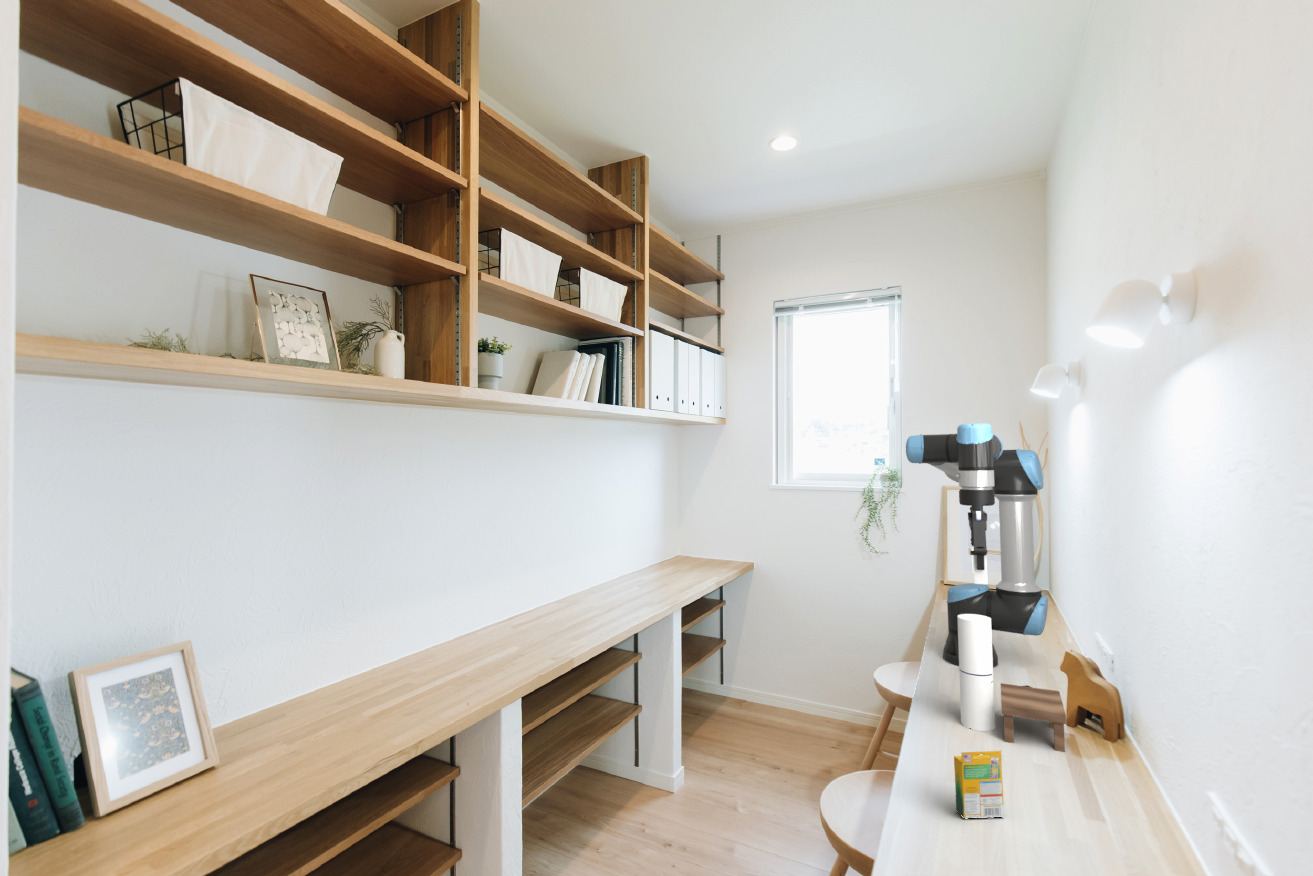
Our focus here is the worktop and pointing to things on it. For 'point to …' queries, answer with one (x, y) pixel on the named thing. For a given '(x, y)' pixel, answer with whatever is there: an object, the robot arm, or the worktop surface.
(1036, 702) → the brown flat-topped stand
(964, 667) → the cylindrical container
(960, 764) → the crayon box
